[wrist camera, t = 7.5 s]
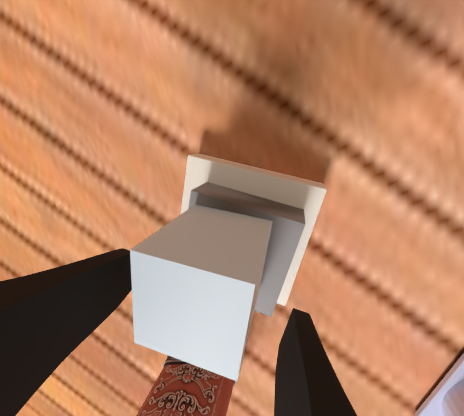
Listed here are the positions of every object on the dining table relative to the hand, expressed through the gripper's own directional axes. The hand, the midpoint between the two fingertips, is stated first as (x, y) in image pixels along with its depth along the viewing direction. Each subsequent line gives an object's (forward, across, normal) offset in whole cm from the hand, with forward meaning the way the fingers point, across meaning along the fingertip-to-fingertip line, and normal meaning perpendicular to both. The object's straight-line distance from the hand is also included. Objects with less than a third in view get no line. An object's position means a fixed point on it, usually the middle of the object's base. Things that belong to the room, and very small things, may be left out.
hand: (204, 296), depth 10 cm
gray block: (+4, 0, 0) cm, 4 cm away
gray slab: (+6, 0, 0) cm, 7 cm away
